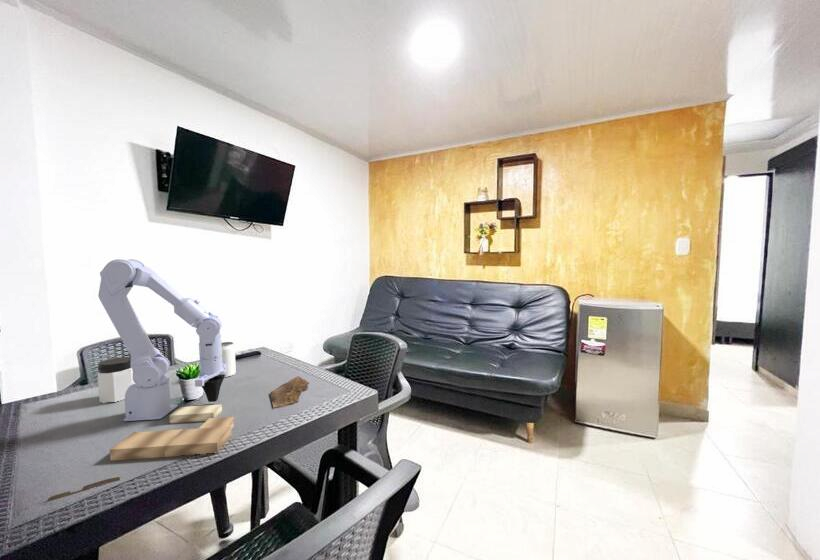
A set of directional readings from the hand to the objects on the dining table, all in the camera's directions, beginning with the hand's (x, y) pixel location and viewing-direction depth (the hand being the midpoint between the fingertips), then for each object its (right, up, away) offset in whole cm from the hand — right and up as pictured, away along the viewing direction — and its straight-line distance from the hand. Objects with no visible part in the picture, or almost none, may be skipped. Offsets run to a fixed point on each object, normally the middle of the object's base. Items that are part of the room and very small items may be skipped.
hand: (213, 400), depth 97 cm
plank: (0, -2, -8) cm, 8 cm away
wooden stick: (-3, -4, -36) cm, 36 cm away
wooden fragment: (+20, -1, +10) cm, 22 cm away
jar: (-33, -1, +5) cm, 34 cm away
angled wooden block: (+5, -2, -20) cm, 21 cm away
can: (-10, 0, +25) cm, 27 cm away
